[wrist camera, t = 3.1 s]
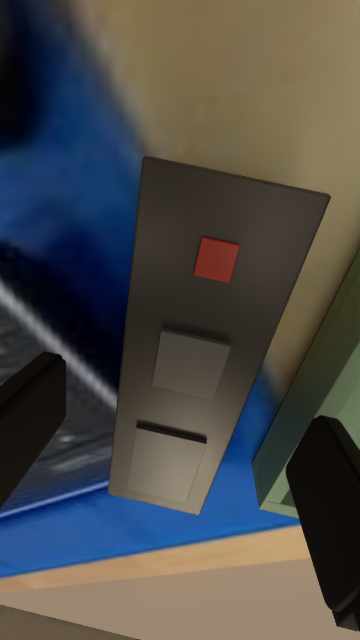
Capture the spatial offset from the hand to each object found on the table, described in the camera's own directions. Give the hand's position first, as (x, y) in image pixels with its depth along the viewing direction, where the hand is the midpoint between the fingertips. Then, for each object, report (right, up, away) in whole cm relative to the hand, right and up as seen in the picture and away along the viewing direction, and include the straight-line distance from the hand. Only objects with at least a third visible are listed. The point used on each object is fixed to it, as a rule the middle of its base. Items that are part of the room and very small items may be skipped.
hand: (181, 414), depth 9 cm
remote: (0, +2, +2) cm, 3 cm away
